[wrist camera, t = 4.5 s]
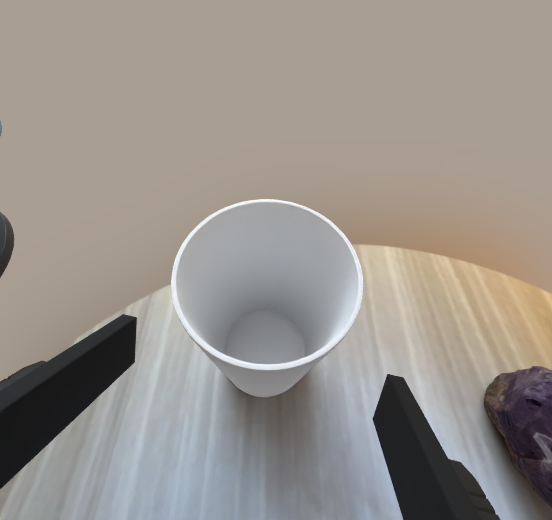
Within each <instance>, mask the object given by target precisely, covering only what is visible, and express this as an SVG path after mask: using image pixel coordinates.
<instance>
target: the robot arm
mask: <svg viewBox="0 0 552 520" xmlns="http://www.w3.org/2000/svg"><path fill="white" fill-rule="evenodd" d="M1 131H2V126H1V122H0V135H1ZM136 324H137V317H133V316H128V315H124V314H123V315H121V316H120V317H118V318H117V319H115V320H113V321H112V322H110V323H109V324H107V325H105V326H104V327H102V328H101V329H99V330H97V331H96V332H94V333H92V334H91V335H89V336H88V337H86V338H84V339H83V340H81V341H80V342H78V343H76V344H75V345H73V346H72V347H70V348H68V349H67V350H65V351H64V352H62V353H60V354H59V355H57V356H56V357H54V358H52V359H51V360H49V361H48V362H45V361H40V362H37V363H35V364H32V365H29V366H27V367H24V368H22V369H21V370H19V371H17V372H16V373H14V374H12V375H11V376H9V377H8V378H7V379H4V380H2V381H1V382H0V489H1V488H2V487H3V486H4V485H5V484H6V483H7V482H8V481H9V480H11V479H12V478H13V477H14V476H15V475H16V474H17V473H18V472H19V471H20V470H21V469H22V468H23V467H24V466H25V465H26V464H27V463H29V462H30V461H31V460H32V459H33V458H34V457H35V456H36V455H37V454H38V453H39V452H40V451H41V450H42V449H43V448H44V447H45V446H47V445H48V444H49V443H50V442H51V441H52V440H53V439H54V438H55V437H56V436H57V435H58V434H59V433H60V432H61V431H62V430H63V429H65V428H66V427H67V426H68V425H69V424H70V423H71V422H72V421H73V420H74V419H75V418H76V417H77V416H78V415H79V414H80V413H81V412H83V411H84V410H85V409H86V408H87V407H88V406H89V405H90V404H91V403H92V402H93V401H94V400H95V399H96V398H97V397H98V396H99V395H101V394H102V393H103V392H104V391H105V390H106V389H107V388H108V387H109V386H110V385H111V384H112V383H113V382H114V381H115V380H116V379H117V378H119V377H120V376H121V375H122V374H123V373H124V372H125V371H126V370H127V369H128V368H129V367H130V366H131V365H132V364H133V363H134V362H135V344H136ZM373 422H374V425H375V428H376V431H377V435H378V438H379V441H380V445H381V448H382V451H383V454H384V458H385V461H386V464H387V467H388V471H389V474H390V477H391V480H392V484H393V487H394V490H395V494H396V497H397V500H398V503H399V507H400V510H401V513H402V516H403V520H500V518H499V517H498V515H496V514H495V510H494V508H493V507H492V505H491V504H490V502H489V500H488V499H486V495H485V494H484V492H483V490H482V489H481V487H480V485H479V484H478V482H477V481H476V479H475V478H474V477H473V475H472V474H471V473H470V472H469V471H468V470H467V469H466V468H465V467H464V466H463V464H462V463H461V462H458V461H454V460H450V459H448V458H447V456H446V454H445V452H444V450H443V449H442V447H441V445H440V443H439V441H438V440H437V438H436V436H435V434H434V432H433V430H432V429H431V427H430V425H429V423H428V421H427V420H426V418H425V416H424V414H423V412H422V410H421V409H420V407H419V405H418V403H417V401H416V400H415V398H414V396H413V394H412V392H411V391H410V389H409V387H408V385H407V383H406V381H405V380H404V378H403V377H399V376H394V375H390V374H387V377H386V380H385V383H384V386H383V389H382V392H381V395H380V398H379V401H378V404H377V407H376V410H375V414H374V417H373Z"/></svg>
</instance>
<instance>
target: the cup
mask: <svg viewBox="0 0 552 520" xmlns="http://www.w3.org/2000/svg"><path fill="white" fill-rule="evenodd" d="M171 290H172V298H173V302H174V306H175V309H176V312H177V314H178V317H179V319H180V321H181V323H182V325H183V327H184V329H185V330H186V332H187V333H188V334H189V336H190V337H191V338H192V340H193V341H194V342H195V343H196V344H197V345H198V346H199V347H200V348H201V349H202V350H203V352H204V353H205V354H206V355H207V356H208V357H209V358H210V359H211V360H212V361H213V362H214V363H215V364H216V366H217V367H218V368H219V369H220V370H221V371H222V372H223V373H224V374H225V375H226V376H227V377H228V378H229V379H230V380H231V382H232V383H233V384H234V385H235V386H236V387H238V388H239V389H240V390H242V391H243V392H245V393H247V394H249V395H252V396H256V397H272V396H276V395H279V394H282V393H283V392H285V391H287V390H288V389H290V388H291V387H292V386H293V385H294V384H296V383H297V382H298V381H299V380H300V379H301V378H302V377H303V376H304V375H305V374H307V373H308V372H309V371H310V370H311V369H312V368H313V367H314V366H315V365H316V364H318V363H319V362H320V361H321V360H322V359H323V358H324V357H325V356H326V355H327V354H328V353H329V352H331V351H332V350H333V349H334V348H335V347H336V346H337V345H338V344H339V343H340V342H341V341H342V339H343V338H344V337H345V335H346V334H347V333H348V331H349V329H350V328H351V326H352V324H353V323H354V321H355V318H356V316H357V314H358V311H359V308H360V305H361V300H362V294H363V277H362V270H361V266H360V262H359V260H358V257H357V254H356V252H355V250H354V248H353V247H352V245H351V243H350V242H349V240H348V239H347V238H346V236H345V235H344V234H343V233H342V232H341V230H340V229H339V228H338V227H337V226H335V224H333V223H332V222H331V221H330V220H328V219H327V218H325V217H324V216H322V215H321V214H319V213H317V212H316V211H314V210H312V209H309V208H307V207H304V206H302V205H299V204H296V203H291V202H287V201H281V200H271V199H270V200H268V199H266V200H265V199H264V200H263V199H262V200H252V201H246V202H242V203H237V204H234V205H231V206H228V207H226V208H223V209H221V210H219V211H218V212H216V213H214V214H213V215H211V216H209V217H208V218H206V219H205V220H204V221H202V222H201V223H200V224H199V225H198V226H197V227H196V228H195V229H194V230H193V231H192V232H191V233H190V234H189V235H188V237H187V238H186V240H185V241H184V242H183V244H182V246H181V248H180V250H179V252H178V254H177V256H176V259H175V263H174V266H173V271H172V279H171Z"/></svg>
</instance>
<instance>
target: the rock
mask: <svg viewBox="0 0 552 520" xmlns="http://www.w3.org/2000/svg"><path fill="white" fill-rule="evenodd" d="M484 405H485V407H486V410H487V412H488V414H489V416H490V418H491V421H492V422H493V424H494V425H495V426H496V429H497V430H498V431H499V432H500V433H501V434H502V435H503V436H504V437H505V443H506V445H507V447H508V449H509V451H510V455H511V458H512V461H513V464H514V466H515V468H516V469H517V470H518V471H519V472H520V473H521V474H522V475H523V476H524V477H525V478H526V479H527V480H528V481H529V482H530V483H531V484H532V485H533V489H534V490H535V491H536V492H537V493H538V494H539V495H540V496H541V498H542V499H544V500H545V501H546V502H547V503H548V504H549V505H550V506H551V507H552V370H550V369H547V368H544V367H541V366H532V368H530V369H523V370H517V371H516V372H512V373H502V374H500V375H499V376H497V377H496V378H495V379H494V381H493V382H492V384H490V385H489V386H488V388H487V390H486V394H485V400H484Z"/></svg>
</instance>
